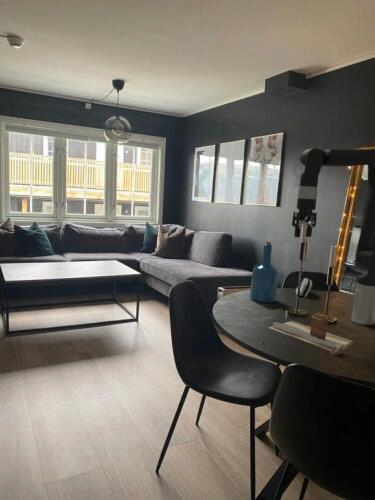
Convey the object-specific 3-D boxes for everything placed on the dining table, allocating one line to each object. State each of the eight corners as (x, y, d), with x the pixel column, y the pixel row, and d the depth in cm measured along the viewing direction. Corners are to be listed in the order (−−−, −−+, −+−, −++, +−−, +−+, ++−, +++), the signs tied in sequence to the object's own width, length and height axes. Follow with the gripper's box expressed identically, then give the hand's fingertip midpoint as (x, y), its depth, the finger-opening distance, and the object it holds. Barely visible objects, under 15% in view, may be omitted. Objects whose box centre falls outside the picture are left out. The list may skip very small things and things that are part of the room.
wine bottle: (281, 302, 193) (287, 243, 189) (261, 304, 186) (267, 243, 182) (262, 295, 204) (268, 239, 200) (243, 297, 197) (248, 239, 193)
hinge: (295, 289, 222) (303, 274, 220) (303, 293, 222) (311, 278, 220) (296, 296, 206) (304, 280, 204) (304, 300, 206) (313, 284, 203)
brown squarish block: (315, 336, 142) (318, 312, 141) (325, 339, 139) (328, 315, 138) (309, 338, 140) (312, 314, 138) (319, 341, 137) (322, 317, 135)
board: (291, 324, 159) (292, 320, 159) (352, 345, 140) (353, 341, 139) (267, 331, 149) (268, 327, 148) (330, 354, 129) (330, 350, 129)
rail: (275, 326, 150) (275, 321, 150) (334, 347, 132) (335, 342, 132) (272, 327, 149) (273, 321, 149) (332, 348, 131) (333, 343, 130)
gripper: (305, 197, 150) (301, 238, 153) (324, 199, 160) (319, 237, 162) (289, 196, 156) (285, 236, 158) (308, 198, 165) (304, 235, 168)
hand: (302, 237), depth 160 cm, fingers open, 8 cm apart
